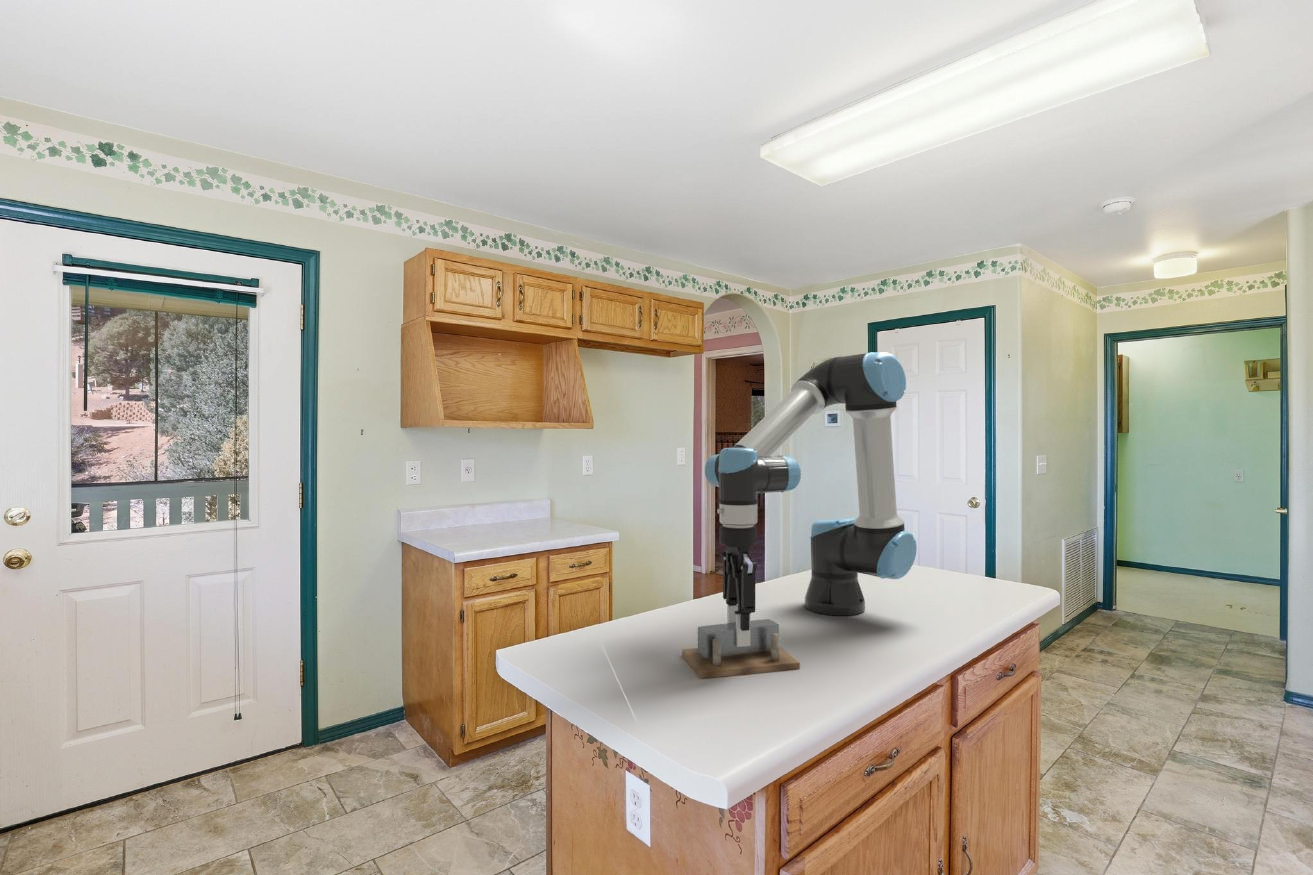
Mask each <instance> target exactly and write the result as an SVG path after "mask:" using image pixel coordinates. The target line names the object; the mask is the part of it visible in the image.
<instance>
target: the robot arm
mask: <svg viewBox="0 0 1313 875" xmlns="http://www.w3.org/2000/svg"><path fill="white" fill-rule="evenodd" d="M906 388H907V378H906V373H905V370H904V367H903V365H902V364H901V362H900V361H899V360H898V359H897V357H896V356H895V355H893V354H891V353H889V352H884V351H882V352H881V351H880V352H873V351H872V352H867V353H866V352H865V353H859V354H851V355H845V356H835V357H831V358H827V359H826V360H824V361H822V362H820V363H818V364H817V365H815V366H814V367H813V368H811V369H809V371H807V372H806V373H805V374H803V375H802V376H801V377H800V378H798V379H797V381H795V382H794V383H793V384H792V386H791V389H790V393H789V394H787V396H785V397H784V398H783V400H781V401H780V402H779V403H777V405H776V406H775V407H773V408H772V409H771V411H770V412H768V414H766V415H765V416H764V417H763V418H762V419H761V420H760V421H759V422H758V423H757V424H756V425H755V426H754V427H752V428H751V430H749V432H747V433H746V434H745V435H744V436H743V437H742V438H741V439H740V440H739V441H737V443H735V445H733V446H732V447H725V448H722V449H721V450H720V451H719V454H714V455H711V456H710V457H709V458H708V459H707V460H706V462H705V465H704V476H705V478H706V480H707V482H708V483H709V484H711V486H713V487H718V494H719V496H718V497H719V499H718V501H719V502H718V503H719V508H717V514H719V523H720V524H722V525H720V526H719V530H718V531H719V532H718V534H719V538H718V539H719V540H718V542H719V545H720V546H724V547H726V551H724V550H723V551H722V552H721V560H722V598H723V600H725V603H726V606H727V607H726V608H727V610H726V612H727V613H726V614H727V623H736V646H737V647H743V646H750V621H751V614H752V613H753V614H754V613H755V612H756V575H757V566H758V564H757V562H756V561H752V557H751V552H750V548H751V547H754V546H756V545H757V544H758V527H757V525H756V524H757V523H758V495H759V494H764V493H765V494H767V493H770V494H771V493H784V492H788V491H792V490H794V489H796V488H797V486H798V485H799V484H800V482H801V479H802V478H801V477H802V476H801V474H802V473H801V472H802V471H801V466H800V465H799V463H798V462H797V460H796V459H795V458H793V457H792V456H789V455H773V454H774V453H775V452H776V451H777V450H778V449H779V448H780V447H781V446H782V445H783V444H784V443H785V442H786V441H787V440H788V439H789V438H790V437H791V436H792V435H794V433H795V432H796V431H797V430H798V429H799V428H800V427H802V425H803V424H805V422H806V421H807V420H808V419H810V418H811V416H813V415H817V414H819V413H821V412H823V411H824V409H826V408H827V407H830V406H832V405H838V404H845V405H844V406H845V413H847V414H848V415H849V416H850V417H851V418H852V424H853V428H852V429H853V439H854V441H853V443H854V454H855V467H856V468H855V469H856V483H857V484H856V485H857V498H858V510H859V512H858V513H859V515H858V516H857V518H854V517H850V518H849V517H847V518H846V517H845V518H830V519H821V520H816V521H814V522H813V523H812V525H811V528H810V529H811V532H810V533H811V534H810V564H811V567H810V568H811V575H810V576H811V577H810V581H809V583H808V587H807V590H806V593H805V596H804V607H805V608H806V610H809V611H811V612H815V613H817V614H822V615H829V616H830V615H831V616H855V615H859V614H862V613H864V612H865V610H866V601H865V597H864V594H863V591H862V587H861V586H860V582H859V578H858V577H859V576H858V575H859V574H863V575H867V576H872V577H877V578H879V579H888V580H899V579H902V578H904V577H905V576H906V575H907V574H908V573H909V572H910V570H911V569H912V567H913V565H914V563H915V561H916V557H917V550H918V549H917V541H916V538H915V537H914V535H913V533H911V532H909V531H908V530H905V520H904V519H903V518H901V516H899V514H898V512H897V498H896V496H897V495H896V482H895V481H896V479H895V464H894V463H895V462H894V453H893V452H894V449H893V437H892V433H893V432H892V420H891V416H892V415H893V413H894V411H896V409H897V402H898V401H900V400H901V399H902V398H903V396H905V391H906ZM727 623H726V624H727Z"/></svg>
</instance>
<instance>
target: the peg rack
mask: <svg viewBox="0 0 1313 875" xmlns="http://www.w3.org/2000/svg"><path fill="white" fill-rule="evenodd" d="M681 652H682V654H681V656H682V657H683V658H684V660H686V662H687V663H688V665H689V666H690V667H691V669H692V670H694V672H695V673H696V675H697V676H698V677H699V678H700V680H701V679H702V680H703V679H710V678H711V679H712V678H720V677H731V676H739V675H740V676H743V675H751V674H759V673H761V674H762V673H770V672H779V671H790V670H800V669H801V664H800V661H799V660H797V659H796V658H795V657H793V656H792V655H791V654H789V653H788V652H787V651H785V649H783V648H782V647H781V646H780V633H779V634H777V633H772V634H771V650H767V651H760V652H752V653H744V654H737V655H729V656H721V639H719V638H714V639H713V658H705V657H703V656H702V655H701V654H700V653H698V647H694V648H693V647H692V648H683V649H681Z"/></svg>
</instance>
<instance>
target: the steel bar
mask: <svg viewBox="0 0 1313 875" xmlns="http://www.w3.org/2000/svg"><path fill="white" fill-rule="evenodd" d="M779 632H780V624H779V623H778V622H775V621H774V620H772V619H770V618H764V619H757V620H755V619H754V620H750V646H743V647H737V646H736V623H720V624H711V625H702V626H697V648H698V653H700V654H701V655H702V656H703V657H705V658H713V639H714V638H719V639H721V656H729V655H737V654H744V653H752V652H760V651H767V650H771V634H772V633H777V634H779V635H780V633H779Z"/></svg>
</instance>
